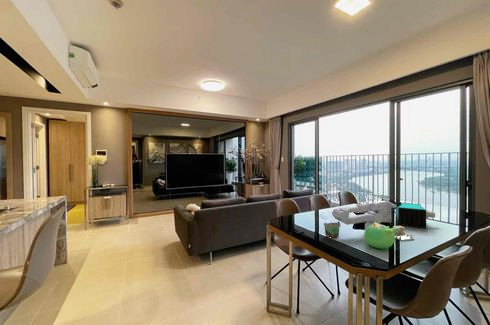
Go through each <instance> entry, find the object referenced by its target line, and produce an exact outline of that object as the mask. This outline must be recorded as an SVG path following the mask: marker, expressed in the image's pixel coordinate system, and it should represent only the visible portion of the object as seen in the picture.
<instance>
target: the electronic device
mask: <svg viewBox="0 0 490 325" xmlns="http://www.w3.org/2000/svg"><path fill="white" fill-rule="evenodd" d="M429 218H430V219H431V218H432V219H434V218H436V213H435V211H428V210H427V209H425V208H424V207H423V206H422V204H421V203H412V202H411V203H410V202H401V206H399V207H398V208H397V209H395V219H396V223H397V226H402V227H410V228H411V227H412V228H418V229H427V219H429Z"/></svg>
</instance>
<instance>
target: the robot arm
mask: <svg viewBox="0 0 490 325" xmlns="http://www.w3.org/2000/svg"><path fill="white" fill-rule="evenodd" d="M401 203H402V202H400V201H395V200H394V201H393V200H390V199H388V198H382V199H380V200H378V201H373V202H372V201H371V202H369V201H366V202H364V203H361V202H360V203H358V204H356V206H348V207H347V206H346V207H338V208H334V209H333V210H332V211H331V212H332V217H334V219H335V220H337V221H338V222H340V223H342V224H345V225H348V226H349V225H354V224H360V223H364V231H365V230H366V229H367V227H368V226H370V225H373V224H374V222H376V223H378V224H381V223H382V222H381V221H382V220H383V216H382V214H379V213H377V210H379V209H385V208H391V209H393V210H396V209H397V208H398V207H399V206H401ZM354 212H355V213H356V212H358V213H363V214H357V215H351V216H350V214H351V213H354Z"/></svg>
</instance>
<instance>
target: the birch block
mask: <svg viewBox="0 0 490 325" xmlns="http://www.w3.org/2000/svg"><path fill="white" fill-rule="evenodd" d="M392 228H399V230H398V231H397V232H396V233H395V234H394V235H398V236H403V235H405V233H406V229H405V228H406V226H400V225H395V226H392Z"/></svg>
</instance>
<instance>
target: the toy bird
mask: <svg viewBox="0 0 490 325" xmlns="http://www.w3.org/2000/svg"><path fill="white" fill-rule="evenodd" d="M398 230H399V228H393V227H392V228H390V227H388V226H386V225H384V224H381V223H380V224H378V223H376V222H374V224H373V225H370V226H368V227H367V229H366V230H365V229H364V239H365V241H366V242H367V244H369V245H370V247H371V246H372V247H373V248H376V249H381V250H385V249H389V248H391V247H392V246H393V245H394V243H395V240H396V238H395V236H396V234H395V233H396V232H397V231H398Z"/></svg>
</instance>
